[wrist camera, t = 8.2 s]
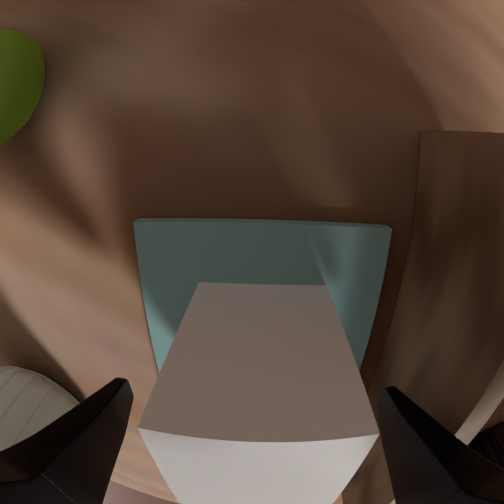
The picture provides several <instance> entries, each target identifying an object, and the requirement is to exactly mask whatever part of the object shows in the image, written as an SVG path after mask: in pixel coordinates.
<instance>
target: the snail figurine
mask: <svg viewBox="0 0 504 504" xmlns="http://www.w3.org/2000/svg"><path fill="white" fill-rule="evenodd" d="M44 82H45V62H44V58H43V54H42V52H41V50H40V48H39V46H38V44H37V43H36V42H35V41H34V40H33V39H32V38H31V37H30V36H29V35H27V34H26V33H24V32H21V31H18V30H14V29H1V30H0V144H2V143H4V142H6V141H7V140H9V139H10V138H11V137H13V136H14V135H15V134H16V133H17V132H18V131H19V130H20V129H21V128H22V127H23V126H24V125H25V124H26V123H27V121H28V120H29V119H30V117H31V116H32V114H33V112H34V111H35V109H36V107H37V105H38V103H39V100H40V98H41V95H42V92H43V88H44Z"/></svg>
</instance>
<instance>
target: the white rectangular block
mask: <svg viewBox="0 0 504 504" xmlns="http://www.w3.org/2000/svg"><path fill="white" fill-rule="evenodd" d="M138 430H139V432H140V434H141V436H142V438H143V440H144V442H145V444H146V446H147V448H148V450H149V452H150V454H151V456H152V458H153V460H154V461H155V463H156V465H157V467H158V469H159V471H160V472H161V474H162V476H163V478H164V479H165V481H166V483H167V484H168V486H169V488H170V489H171V491H172V493H173V494H174V496H175V497H176V499H177V501H178V502H179V503H183V504H333V503H334V501H335V500H336V499H337V497H338V496H339V495H340V494H341V492H342V491H343V489H344V488H345V487H346V485H347V484H348V483H349V481H350V480H351V478H352V477H353V475H354V474H355V473H356V471H357V470H358V468H359V467H360V465H361V464H362V462H363V461H364V459H365V457H366V456H367V454H368V453H369V451H370V449H371V448H372V446H373V444H374V443H375V441H376V439H377V438H378V436H379V434H380V433H379V429H378V426H377V423H376V420H375V417H374V414H373V411H372V408H371V405H370V402H369V399H368V396H367V393H366V390H365V387H364V384H363V381H362V378H361V376H360V373H359V370H358V367H357V364H356V362H355V359H354V356H353V353H352V351H351V348H350V345H349V343H348V340H347V337H346V335H345V332H344V329H343V327H342V324H341V322H340V319H339V316H338V314H337V311H336V309H335V306H334V304H333V301H332V299H331V296H330V294H329V291H328V289H327V286H326V285H275V284H238V283H210V282H199V283H198V285H197V288H196V290H195V292H194V294H193V297H192V299H191V301H190V303H189V305H188V308H187V310H186V312H185V315H184V317H183V319H182V321H181V324H180V326H179V328H178V331H177V333H176V335H175V337H174V340H173V342H172V344H171V347H170V349H169V352H168V354H167V356H166V359H165V361H164V363H163V366H162V368H161V371H160V373H159V375H158V378H157V380H156V383H155V385H154V388H153V390H152V392H151V395H150V397H149V400H148V402H147V405H146V407H145V410H144V412H143V415H142V417H141V420H140V423H139V425H138Z"/></svg>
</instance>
